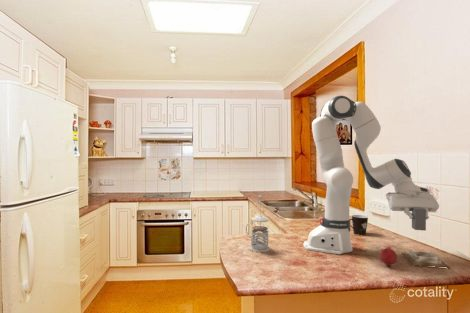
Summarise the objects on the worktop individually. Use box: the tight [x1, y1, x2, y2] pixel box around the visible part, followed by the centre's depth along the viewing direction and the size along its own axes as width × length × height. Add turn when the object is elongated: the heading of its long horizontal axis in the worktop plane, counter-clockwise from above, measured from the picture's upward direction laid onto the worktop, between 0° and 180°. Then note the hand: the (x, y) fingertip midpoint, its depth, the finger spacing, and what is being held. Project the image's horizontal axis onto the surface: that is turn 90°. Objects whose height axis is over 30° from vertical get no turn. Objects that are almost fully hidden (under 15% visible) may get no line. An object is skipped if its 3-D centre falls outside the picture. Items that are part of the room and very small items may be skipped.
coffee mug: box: [349, 214, 369, 236], centre depth 163 cm, size 12×9×10 cm
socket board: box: [401, 249, 450, 269], centre depth 119 cm, size 13×13×3 cm
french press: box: [245, 195, 271, 253], centre depth 134 cm, size 10×12×25 cm
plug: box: [411, 208, 427, 231], centre depth 123 cm, size 4×4×9 cm
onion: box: [379, 245, 398, 267], centre depth 113 cm, size 6×6×8 cm
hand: (419, 218), depth 123 cm, fingers closed on plug, 4 cm apart
